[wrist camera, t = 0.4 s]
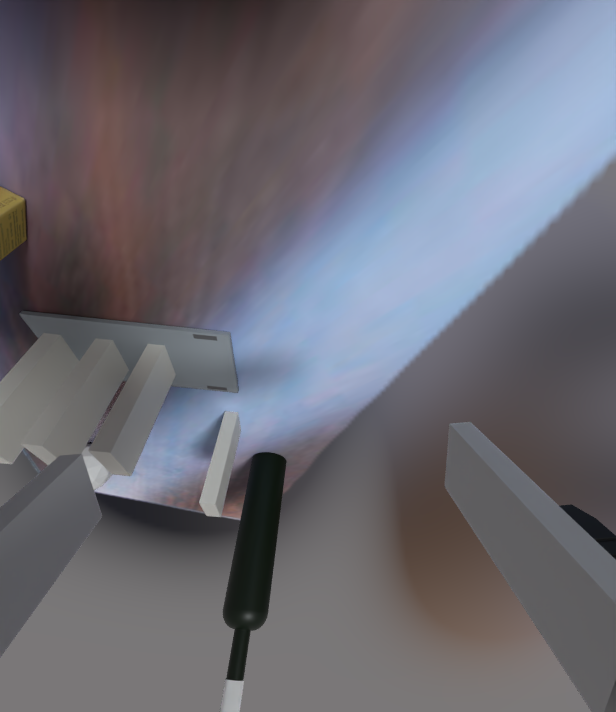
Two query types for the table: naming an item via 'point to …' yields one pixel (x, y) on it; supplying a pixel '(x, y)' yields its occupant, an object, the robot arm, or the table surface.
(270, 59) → the table surface
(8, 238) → the candy box
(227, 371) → the mat
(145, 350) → the domino
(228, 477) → the domino
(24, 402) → the domino
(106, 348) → the domino
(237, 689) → the wine bottle
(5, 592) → the robot arm
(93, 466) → the geometric ball
